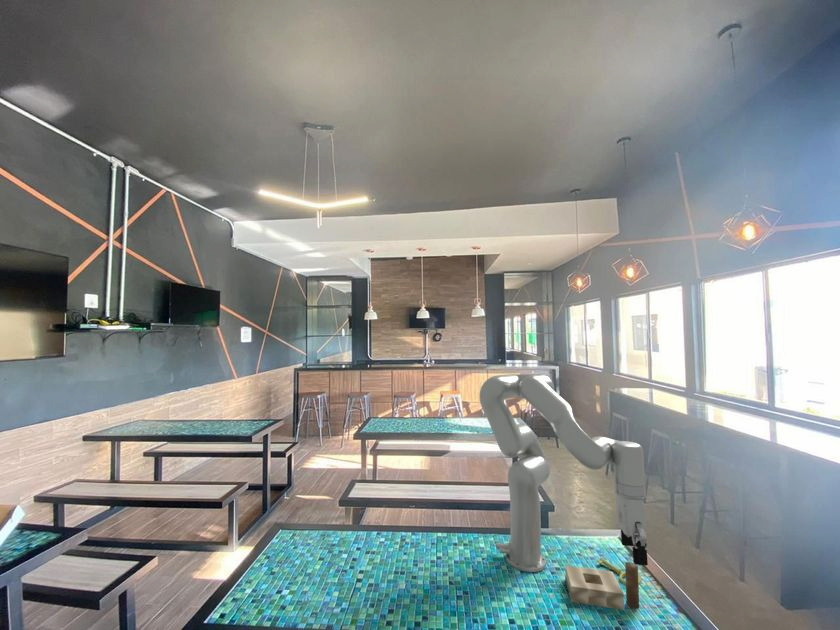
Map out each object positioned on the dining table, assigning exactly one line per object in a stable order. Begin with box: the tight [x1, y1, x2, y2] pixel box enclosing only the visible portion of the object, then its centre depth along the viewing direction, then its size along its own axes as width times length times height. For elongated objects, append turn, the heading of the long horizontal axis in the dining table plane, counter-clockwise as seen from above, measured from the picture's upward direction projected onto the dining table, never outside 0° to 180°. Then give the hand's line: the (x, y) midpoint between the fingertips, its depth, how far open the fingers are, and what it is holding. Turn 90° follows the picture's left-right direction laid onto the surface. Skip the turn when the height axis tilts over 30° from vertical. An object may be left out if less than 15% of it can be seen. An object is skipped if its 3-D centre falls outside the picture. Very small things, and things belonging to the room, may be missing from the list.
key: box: [596, 557, 642, 586], centre depth 113 cm, size 7×12×2 cm, turn 48°
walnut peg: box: [624, 561, 640, 609], centre depth 100 cm, size 3×3×10 cm
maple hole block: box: [564, 564, 625, 611], centre depth 104 cm, size 13×10×4 cm
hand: (634, 554), depth 101 cm, fingers open, 9 cm apart
